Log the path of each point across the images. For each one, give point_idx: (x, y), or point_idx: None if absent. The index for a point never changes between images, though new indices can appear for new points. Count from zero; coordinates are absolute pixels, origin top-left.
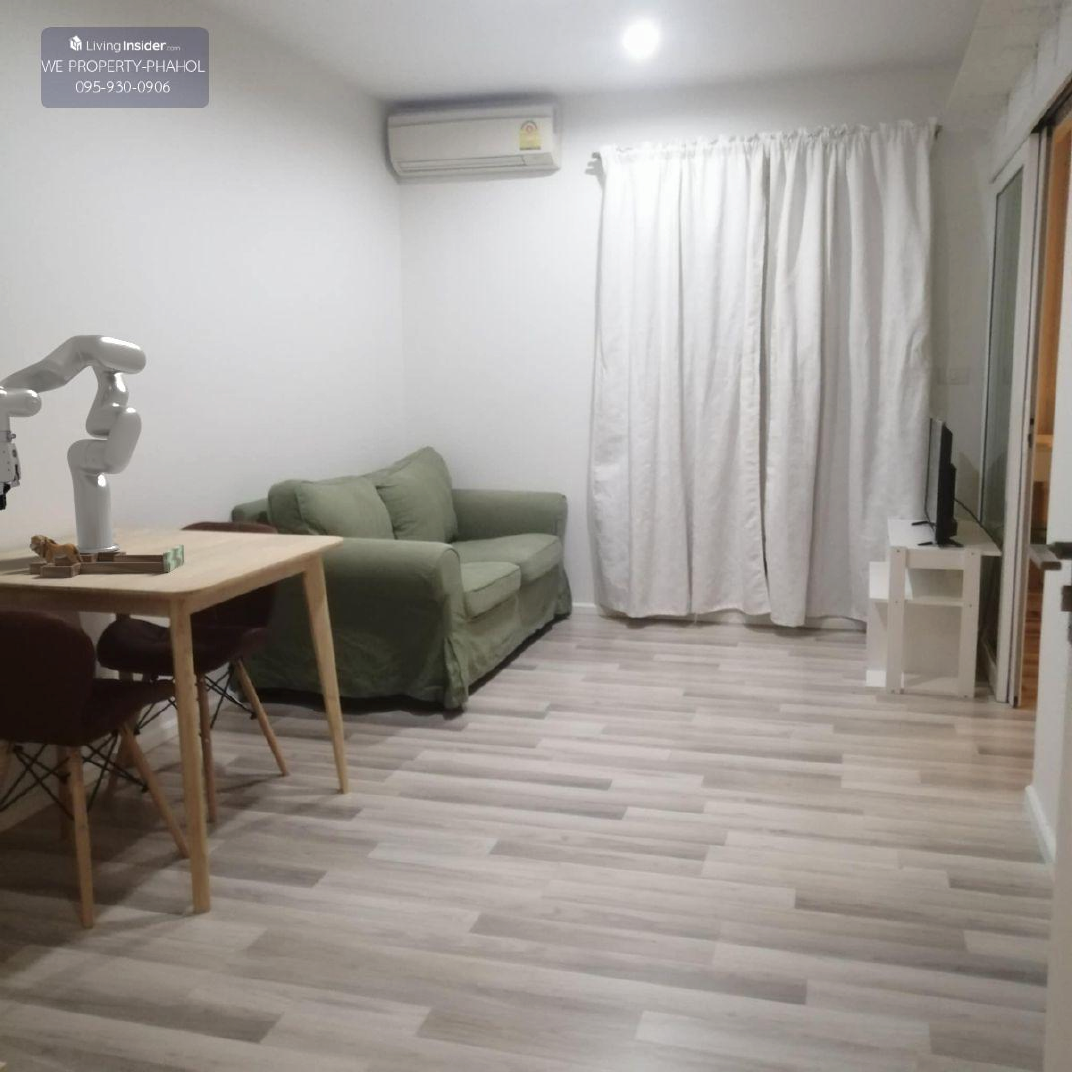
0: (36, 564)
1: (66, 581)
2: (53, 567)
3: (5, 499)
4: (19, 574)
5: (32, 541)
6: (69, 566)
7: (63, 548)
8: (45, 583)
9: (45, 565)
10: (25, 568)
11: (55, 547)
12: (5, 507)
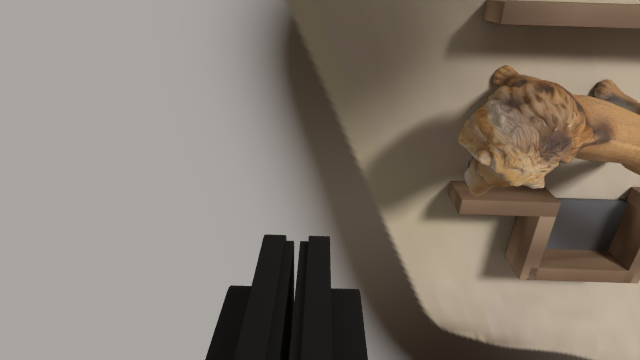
0: (486, 213)
1: (597, 315)
2: (566, 279)
3: (363, 354)
4: (414, 209)
5: (488, 182)
6: (626, 275)
7: (630, 164)
8: (538, 334)
9: (532, 252)
10: (394, 91)
11: (591, 157)
12: (329, 243)
